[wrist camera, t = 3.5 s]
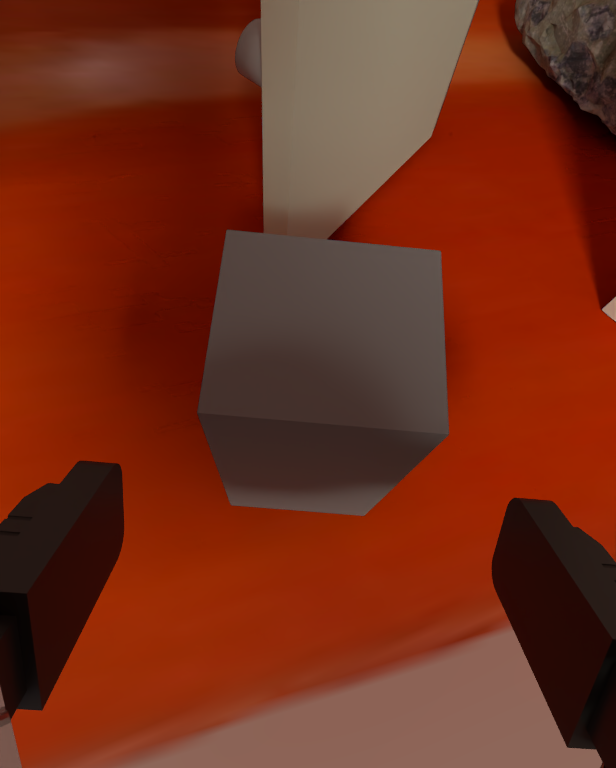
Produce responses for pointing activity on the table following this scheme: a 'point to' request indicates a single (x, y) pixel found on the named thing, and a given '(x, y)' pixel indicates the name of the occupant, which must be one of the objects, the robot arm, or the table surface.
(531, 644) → the robot arm
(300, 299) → the block
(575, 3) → the mineral rock
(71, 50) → the table surface
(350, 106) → the door
